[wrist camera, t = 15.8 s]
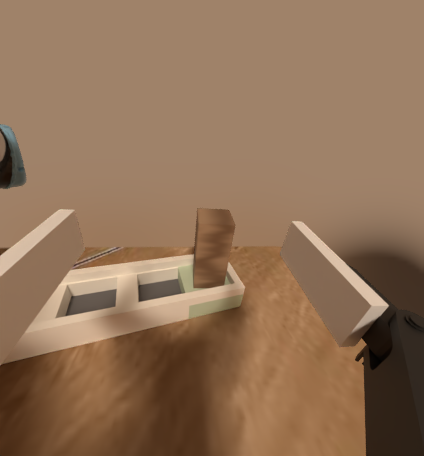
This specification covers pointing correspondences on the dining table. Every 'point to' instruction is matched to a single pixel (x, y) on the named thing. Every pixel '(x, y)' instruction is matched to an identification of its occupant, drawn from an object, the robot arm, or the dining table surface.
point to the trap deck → (122, 303)
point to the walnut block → (212, 247)
